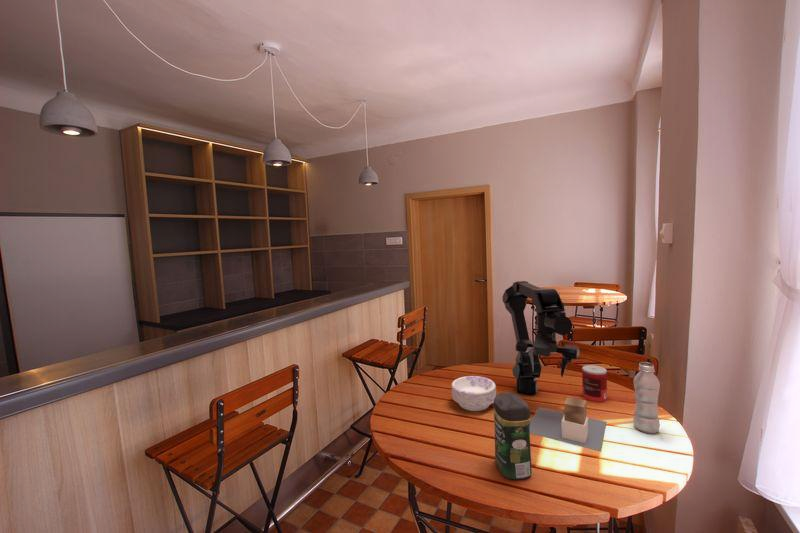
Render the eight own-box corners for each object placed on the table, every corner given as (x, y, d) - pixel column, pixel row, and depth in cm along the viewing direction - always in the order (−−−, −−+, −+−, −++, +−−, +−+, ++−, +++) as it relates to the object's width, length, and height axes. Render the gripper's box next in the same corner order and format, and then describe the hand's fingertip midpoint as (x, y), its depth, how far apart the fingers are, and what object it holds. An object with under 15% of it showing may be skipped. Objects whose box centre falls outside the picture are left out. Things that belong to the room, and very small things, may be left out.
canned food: (600, 394, 130) (600, 364, 129) (611, 404, 122) (611, 372, 121) (578, 394, 131) (578, 365, 130) (588, 404, 123) (587, 373, 122)
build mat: (524, 433, 106) (524, 431, 106) (538, 408, 121) (538, 407, 121) (601, 453, 95) (601, 451, 95) (606, 423, 109) (606, 421, 109)
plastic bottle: (655, 426, 107) (655, 361, 105) (663, 438, 100) (664, 369, 99) (630, 423, 109) (630, 359, 108) (636, 435, 102) (637, 367, 101)
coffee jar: (491, 458, 95) (489, 390, 93) (520, 456, 95) (518, 388, 94) (504, 483, 85) (502, 407, 84) (536, 480, 85) (535, 405, 84)
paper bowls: (447, 412, 121) (446, 389, 121) (457, 393, 135) (457, 373, 135) (493, 418, 116) (492, 395, 115) (498, 399, 130) (498, 377, 129)
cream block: (561, 437, 102) (561, 420, 102) (565, 428, 107) (565, 412, 106) (585, 443, 98) (585, 426, 98) (588, 433, 103) (587, 416, 103)
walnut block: (564, 420, 102) (564, 403, 101) (567, 413, 106) (567, 396, 105) (583, 425, 99) (583, 407, 98) (586, 417, 103) (586, 400, 103)
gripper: (510, 330, 115) (511, 377, 116) (573, 336, 104) (574, 388, 105) (519, 322, 124) (520, 366, 125) (579, 328, 114) (579, 375, 115)
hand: (546, 374), depth 117 cm, fingers open, 9 cm apart
